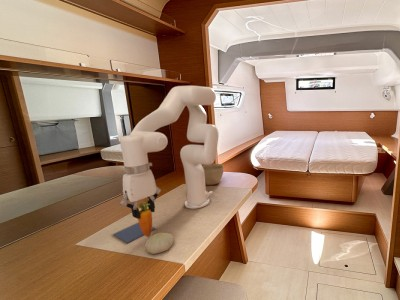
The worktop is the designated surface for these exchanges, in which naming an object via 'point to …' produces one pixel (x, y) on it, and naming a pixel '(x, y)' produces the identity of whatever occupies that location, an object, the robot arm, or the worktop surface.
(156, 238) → the sea urchin shell
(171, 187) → the worktop surface
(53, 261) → the worktop surface
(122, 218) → the worktop surface
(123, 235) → the napkin
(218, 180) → the planter bowl
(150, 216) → the carrot
